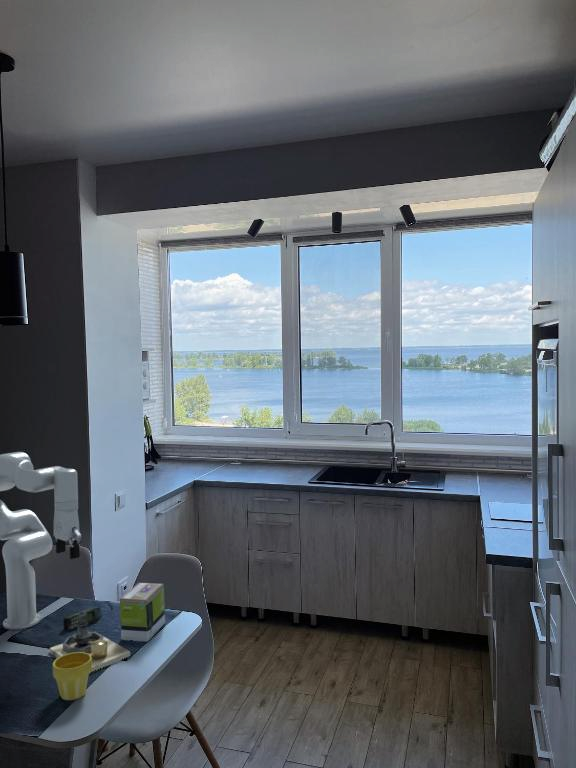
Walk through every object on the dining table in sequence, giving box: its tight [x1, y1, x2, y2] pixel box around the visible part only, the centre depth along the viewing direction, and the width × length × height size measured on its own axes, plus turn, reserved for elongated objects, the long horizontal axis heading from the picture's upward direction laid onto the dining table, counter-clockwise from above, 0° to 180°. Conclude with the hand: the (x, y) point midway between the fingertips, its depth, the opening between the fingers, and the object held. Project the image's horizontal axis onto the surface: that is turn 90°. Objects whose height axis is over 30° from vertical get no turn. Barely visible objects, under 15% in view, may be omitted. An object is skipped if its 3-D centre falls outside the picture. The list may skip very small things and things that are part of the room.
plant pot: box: [52, 652, 92, 701], centre depth 169 cm, size 10×10×10 cm
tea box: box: [119, 582, 166, 643], centre depth 208 cm, size 15×10×15 cm
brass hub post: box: [91, 640, 108, 660], centre depth 188 cm, size 5×5×4 cm
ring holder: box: [63, 631, 104, 653], centre depth 195 cm, size 12×12×2 cm
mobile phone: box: [62, 606, 103, 632], centre depth 215 cm, size 5×3×15 cm
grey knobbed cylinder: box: [73, 609, 92, 647], centre depth 195 cm, size 6×6×12 cm
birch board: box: [49, 635, 131, 674], centre depth 192 cm, size 22×16×2 cm
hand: (67, 555), depth 204 cm, fingers open, 9 cm apart
